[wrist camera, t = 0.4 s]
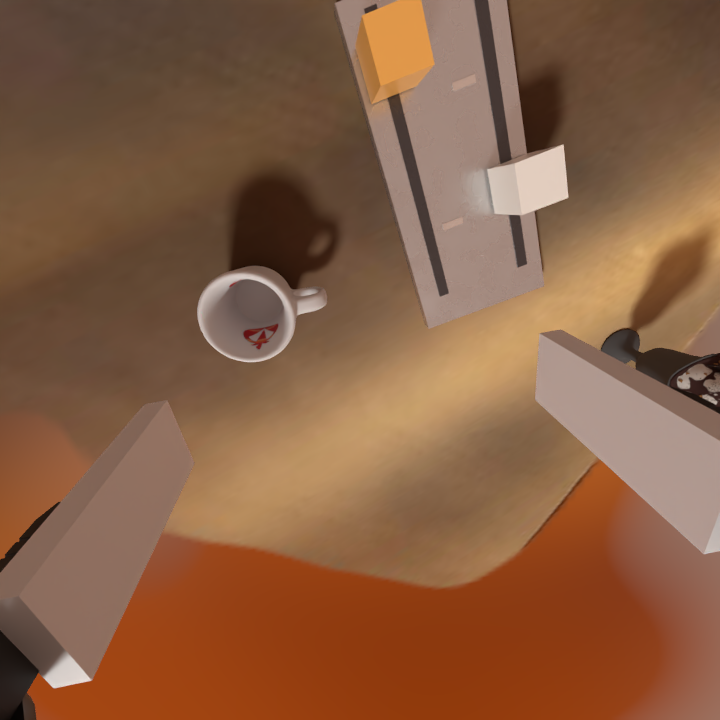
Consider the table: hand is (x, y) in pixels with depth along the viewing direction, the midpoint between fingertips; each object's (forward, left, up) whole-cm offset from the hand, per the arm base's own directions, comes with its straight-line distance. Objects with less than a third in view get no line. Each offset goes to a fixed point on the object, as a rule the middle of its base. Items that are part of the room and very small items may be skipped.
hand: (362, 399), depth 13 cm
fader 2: (-2, +18, -24) cm, 31 cm away
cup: (0, -7, -27) cm, 27 cm away
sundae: (+21, +29, -27) cm, 45 cm away
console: (-5, +14, -26) cm, 30 cm away
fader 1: (-14, +10, -24) cm, 30 cm away
